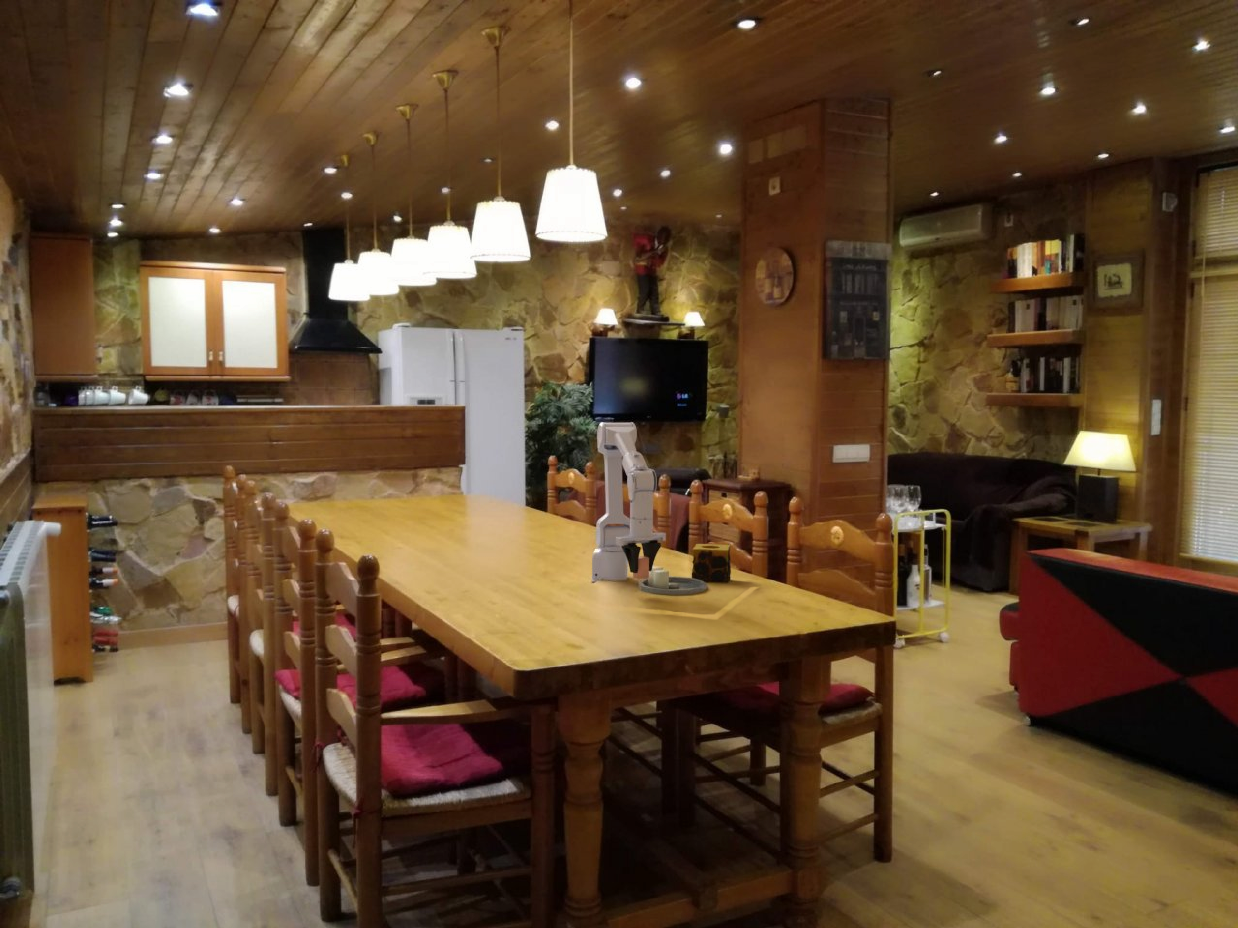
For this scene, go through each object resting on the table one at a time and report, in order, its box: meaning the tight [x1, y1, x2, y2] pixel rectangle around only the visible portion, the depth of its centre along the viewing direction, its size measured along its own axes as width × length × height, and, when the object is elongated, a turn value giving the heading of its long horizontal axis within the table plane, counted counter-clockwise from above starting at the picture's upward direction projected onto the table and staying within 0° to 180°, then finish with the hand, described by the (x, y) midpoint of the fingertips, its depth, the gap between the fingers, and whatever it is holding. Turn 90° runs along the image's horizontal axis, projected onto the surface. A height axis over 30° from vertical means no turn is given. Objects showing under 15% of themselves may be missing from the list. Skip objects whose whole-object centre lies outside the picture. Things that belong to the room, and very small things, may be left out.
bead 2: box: [648, 565, 664, 587], centre depth 252 cm, size 4×4×5 cm
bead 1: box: [632, 555, 649, 580], centre depth 239 cm, size 4×4×5 cm
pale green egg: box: [653, 569, 670, 589], centre depth 246 cm, size 4×4×5 cm
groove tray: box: [637, 576, 708, 596], centre depth 250 cm, size 18×18×2 cm
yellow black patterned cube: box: [691, 543, 732, 584], centre depth 262 cm, size 10×10×10 cm
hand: (640, 571), depth 239 cm, fingers closed on bead 1, 4 cm apart
